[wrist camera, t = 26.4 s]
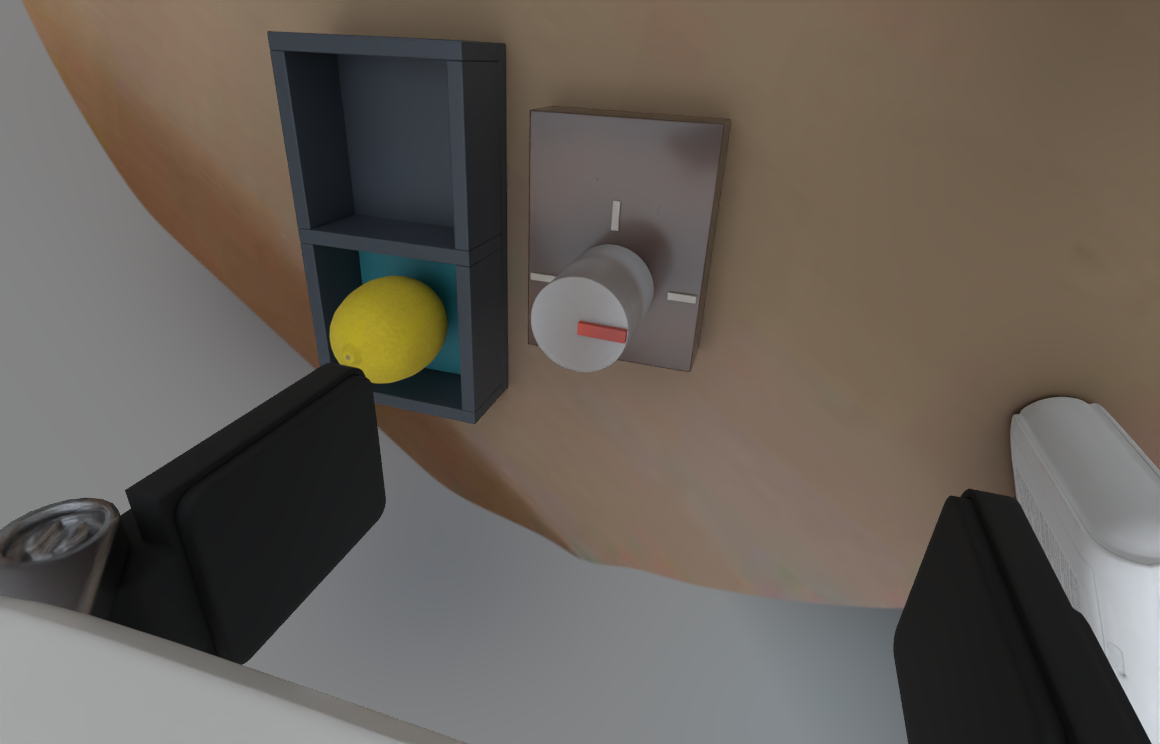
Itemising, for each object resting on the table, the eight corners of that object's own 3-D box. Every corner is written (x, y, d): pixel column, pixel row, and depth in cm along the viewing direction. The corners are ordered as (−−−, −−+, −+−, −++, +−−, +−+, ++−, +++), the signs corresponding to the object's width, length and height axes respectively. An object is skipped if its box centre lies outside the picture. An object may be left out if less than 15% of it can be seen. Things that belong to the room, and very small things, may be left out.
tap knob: (567, 319, 33) (526, 364, 28) (572, 237, 31) (529, 270, 26) (648, 335, 32) (621, 384, 27) (659, 251, 30) (632, 288, 25)
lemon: (447, 363, 39) (372, 426, 32) (375, 310, 39) (286, 362, 32) (486, 297, 36) (413, 351, 30) (409, 240, 36) (318, 281, 29)
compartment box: (331, 35, 34) (266, 31, 29) (505, 43, 31) (461, 40, 27) (369, 360, 42) (323, 392, 38) (508, 387, 40) (475, 424, 36)
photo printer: (1117, 559, 33) (1270, 794, 22) (1021, 564, 35) (1119, 785, 24) (1104, 385, 30) (1276, 565, 19) (998, 401, 31) (1101, 574, 21)
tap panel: (551, 105, 32) (528, 109, 29) (731, 119, 30) (724, 124, 27) (546, 329, 37) (526, 350, 35) (697, 355, 35) (688, 379, 32)
